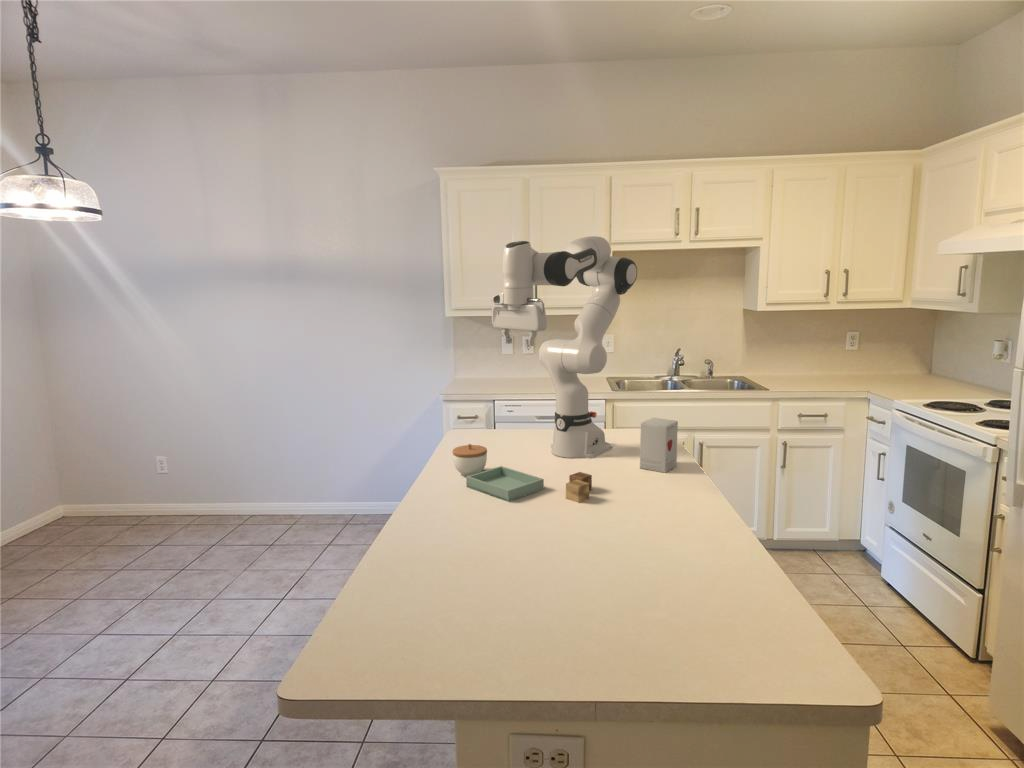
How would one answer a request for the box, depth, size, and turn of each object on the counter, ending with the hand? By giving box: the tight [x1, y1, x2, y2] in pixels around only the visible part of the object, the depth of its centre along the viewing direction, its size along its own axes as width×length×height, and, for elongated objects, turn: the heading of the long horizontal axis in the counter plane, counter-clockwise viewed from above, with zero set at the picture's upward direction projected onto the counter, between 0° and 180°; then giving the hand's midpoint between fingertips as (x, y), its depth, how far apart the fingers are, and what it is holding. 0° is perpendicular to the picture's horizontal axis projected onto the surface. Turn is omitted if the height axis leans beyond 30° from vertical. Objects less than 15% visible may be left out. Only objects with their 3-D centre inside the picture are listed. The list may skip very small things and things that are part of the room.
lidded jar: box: [452, 443, 488, 477], centre depth 203 cm, size 11×11×9 cm
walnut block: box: [569, 471, 593, 492], centre depth 186 cm, size 4×4×4 cm
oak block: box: [565, 480, 590, 504], centre depth 179 cm, size 4×4×4 cm
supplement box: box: [639, 417, 679, 474], centre depth 205 cm, size 9×9×15 cm
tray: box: [465, 465, 545, 503], centre depth 189 cm, size 14×18×3 cm
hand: (519, 344), depth 193 cm, fingers open, 8 cm apart
